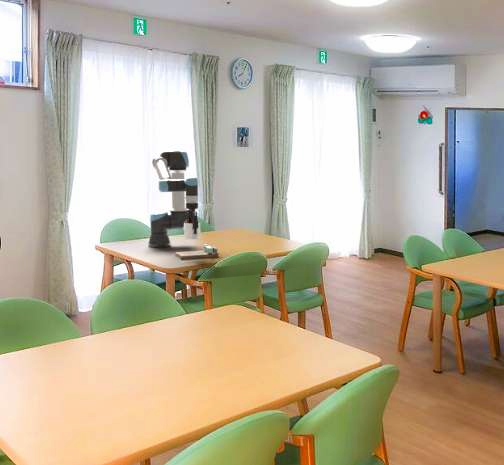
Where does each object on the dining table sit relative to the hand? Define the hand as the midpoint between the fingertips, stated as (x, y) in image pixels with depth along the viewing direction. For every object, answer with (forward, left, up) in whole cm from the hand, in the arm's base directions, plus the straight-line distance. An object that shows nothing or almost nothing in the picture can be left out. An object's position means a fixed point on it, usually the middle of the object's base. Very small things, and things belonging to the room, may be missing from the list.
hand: (192, 237), depth 387 cm
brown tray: (-1, +3, -12) cm, 12 cm away
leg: (-1, +11, -9) cm, 14 cm away
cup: (0, 0, -1) cm, 1 cm away
